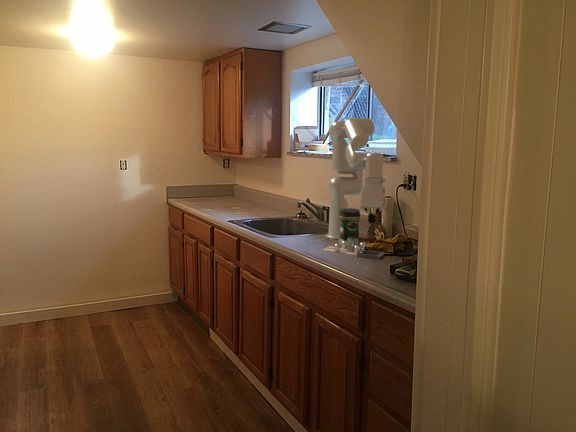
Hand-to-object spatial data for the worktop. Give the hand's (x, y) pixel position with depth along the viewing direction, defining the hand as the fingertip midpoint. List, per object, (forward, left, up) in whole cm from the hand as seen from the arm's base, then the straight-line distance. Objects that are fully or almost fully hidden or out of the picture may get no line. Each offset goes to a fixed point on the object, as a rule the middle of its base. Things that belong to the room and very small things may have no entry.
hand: (371, 223), depth 230 cm
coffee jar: (-11, -13, -14) cm, 23 cm away
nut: (0, -8, -13) cm, 16 cm away
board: (0, -12, -14) cm, 19 cm away
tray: (+6, +2, -14) cm, 15 cm away
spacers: (0, -9, -13) cm, 16 cm away
